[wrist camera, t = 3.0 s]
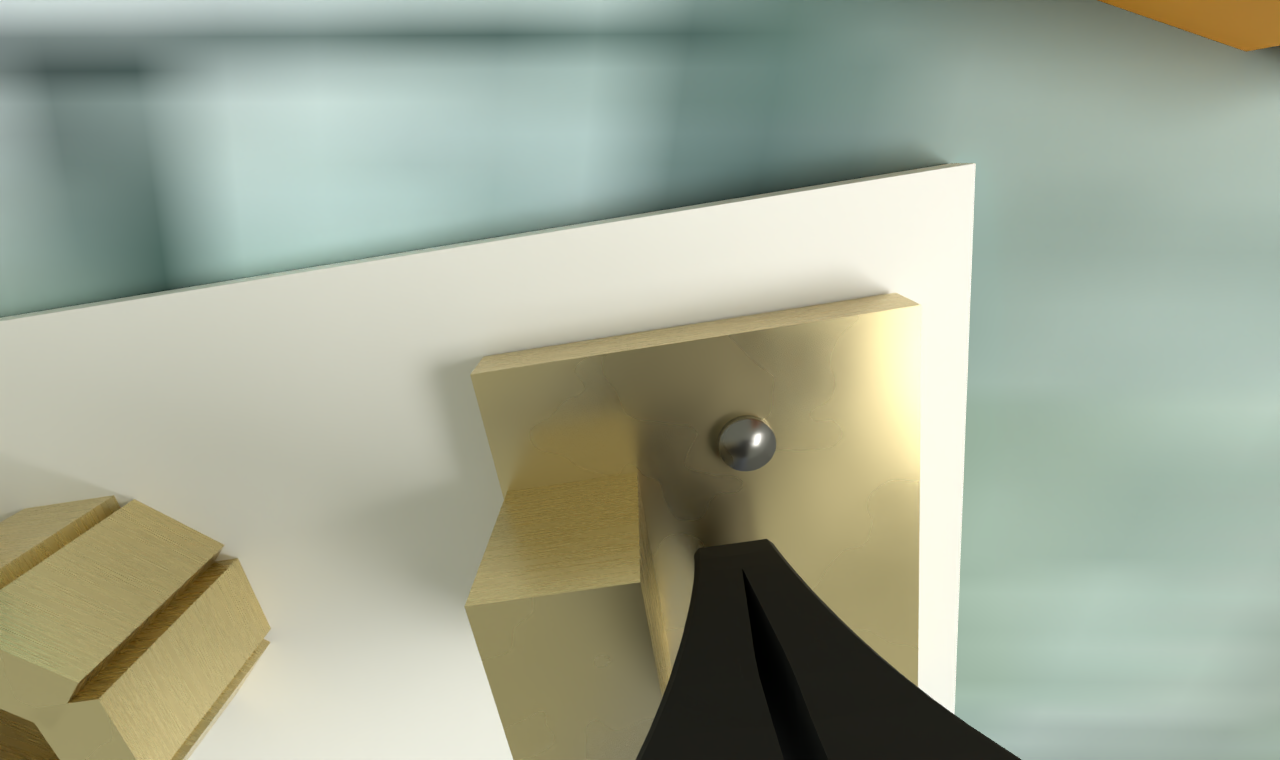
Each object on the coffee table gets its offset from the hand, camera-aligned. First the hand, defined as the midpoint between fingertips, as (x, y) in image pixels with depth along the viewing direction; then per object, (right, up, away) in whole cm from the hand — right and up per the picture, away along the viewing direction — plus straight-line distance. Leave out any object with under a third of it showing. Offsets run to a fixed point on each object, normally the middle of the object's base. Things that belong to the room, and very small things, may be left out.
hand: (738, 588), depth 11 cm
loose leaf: (0, +1, +2) cm, 2 cm away
